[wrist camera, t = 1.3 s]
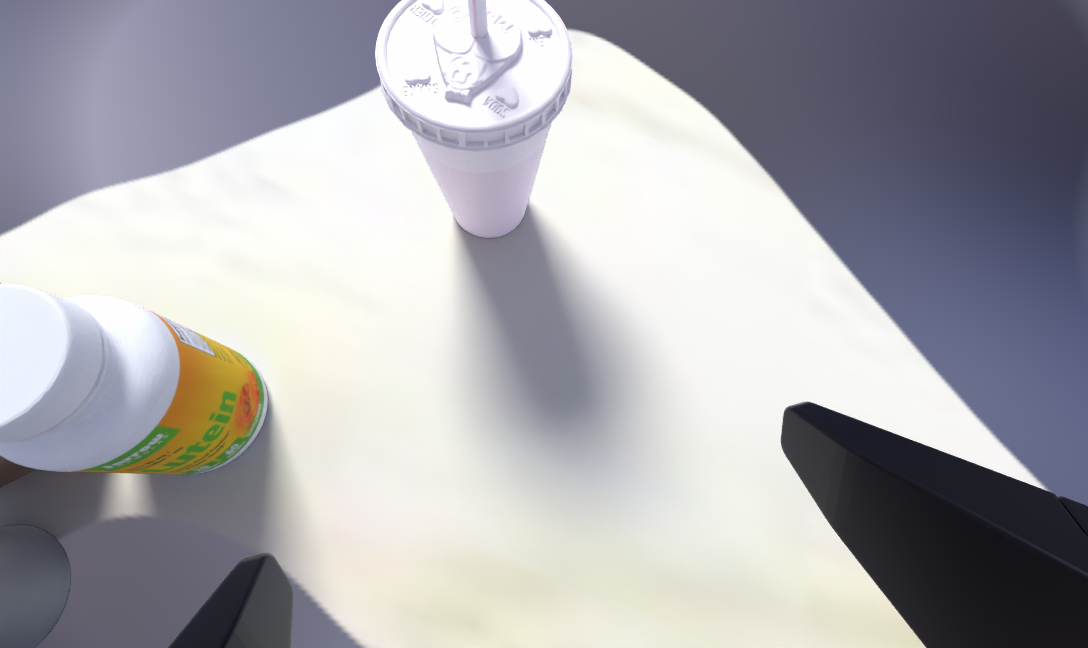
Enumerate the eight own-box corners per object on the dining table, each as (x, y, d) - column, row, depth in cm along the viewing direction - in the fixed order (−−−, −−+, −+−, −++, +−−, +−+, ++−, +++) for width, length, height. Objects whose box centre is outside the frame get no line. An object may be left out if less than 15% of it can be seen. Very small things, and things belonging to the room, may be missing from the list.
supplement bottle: (210, 501, 21) (-32, 517, 12) (110, 429, 22) (-196, 390, 12) (298, 390, 22) (145, 326, 13) (202, 326, 23) (-9, 221, 14)
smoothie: (565, 165, 26) (617, -157, 13) (536, 277, 25) (563, 33, 11) (444, 137, 27) (374, -211, 13) (407, 246, 25) (280, -31, 11)
